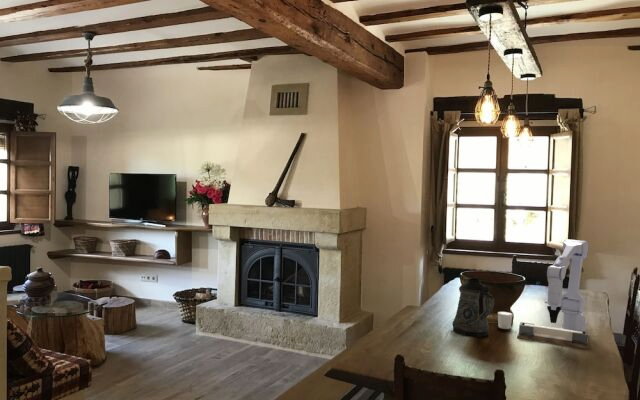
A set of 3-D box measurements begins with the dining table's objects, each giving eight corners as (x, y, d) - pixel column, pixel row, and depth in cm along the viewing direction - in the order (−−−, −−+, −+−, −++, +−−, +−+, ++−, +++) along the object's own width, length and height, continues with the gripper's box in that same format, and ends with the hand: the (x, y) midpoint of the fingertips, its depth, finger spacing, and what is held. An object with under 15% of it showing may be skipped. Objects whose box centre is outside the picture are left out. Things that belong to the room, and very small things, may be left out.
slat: (582, 338, 239) (582, 331, 239) (582, 340, 237) (582, 333, 236) (524, 329, 250) (524, 323, 250) (523, 331, 247) (524, 324, 247)
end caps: (587, 341, 240) (587, 331, 240) (587, 345, 234) (587, 335, 234) (520, 331, 252) (520, 322, 252) (518, 334, 246) (519, 325, 246)
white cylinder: (502, 329, 258) (503, 315, 258) (494, 325, 265) (494, 311, 264) (514, 329, 260) (515, 314, 260) (506, 325, 267) (507, 311, 266)
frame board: (588, 342, 241) (588, 340, 241) (588, 348, 232) (588, 346, 232) (519, 332, 254) (519, 330, 254) (517, 337, 245) (517, 335, 245)
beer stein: (457, 325, 263) (460, 274, 262) (498, 332, 253) (501, 279, 252) (447, 333, 249) (449, 279, 248) (490, 340, 239) (493, 284, 238)
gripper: (546, 288, 251) (544, 317, 251) (544, 294, 238) (542, 325, 238) (563, 290, 247) (561, 320, 248) (561, 296, 234) (560, 327, 235)
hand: (553, 322), depth 243 cm, fingers closed
